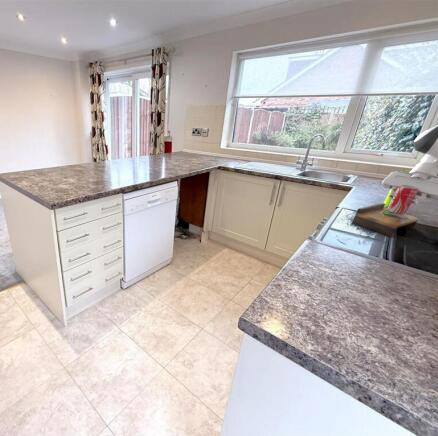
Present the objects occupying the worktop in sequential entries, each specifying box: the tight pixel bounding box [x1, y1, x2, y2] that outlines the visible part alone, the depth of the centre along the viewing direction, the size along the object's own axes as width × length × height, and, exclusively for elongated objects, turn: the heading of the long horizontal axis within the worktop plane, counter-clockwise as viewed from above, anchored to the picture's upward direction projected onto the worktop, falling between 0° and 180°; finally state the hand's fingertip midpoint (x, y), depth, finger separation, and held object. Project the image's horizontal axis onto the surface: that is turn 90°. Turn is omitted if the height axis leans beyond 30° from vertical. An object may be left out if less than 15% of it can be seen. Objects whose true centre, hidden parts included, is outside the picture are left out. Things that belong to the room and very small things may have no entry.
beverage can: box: [386, 185, 417, 215], centre depth 105 cm, size 6×6×12 cm
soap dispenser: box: [383, 170, 412, 209], centre depth 130 cm, size 6×7×20 cm
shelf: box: [351, 202, 420, 238], centre depth 108 cm, size 14×22×7 cm, turn 117°
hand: (402, 199), depth 105 cm, fingers closed on beverage can, 6 cm apart
